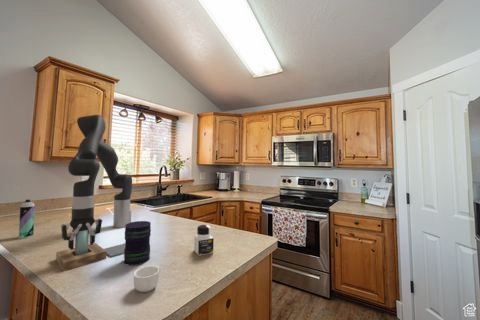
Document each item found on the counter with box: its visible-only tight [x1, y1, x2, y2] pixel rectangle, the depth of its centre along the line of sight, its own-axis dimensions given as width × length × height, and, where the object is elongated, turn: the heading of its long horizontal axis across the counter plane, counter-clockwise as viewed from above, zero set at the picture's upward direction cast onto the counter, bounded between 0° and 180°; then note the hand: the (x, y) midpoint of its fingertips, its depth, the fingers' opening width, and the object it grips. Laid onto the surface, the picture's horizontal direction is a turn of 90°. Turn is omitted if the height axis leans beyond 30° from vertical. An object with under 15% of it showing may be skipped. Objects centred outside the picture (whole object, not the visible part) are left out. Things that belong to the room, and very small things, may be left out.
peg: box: [74, 229, 90, 256], centre depth 88 cm, size 4×4×12 cm
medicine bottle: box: [193, 224, 214, 257], centre depth 97 cm, size 7×7×12 cm
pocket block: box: [55, 242, 107, 272], centre depth 88 cm, size 14×14×3 cm
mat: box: [103, 242, 125, 258], centre depth 97 cm, size 11×11×1 cm
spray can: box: [18, 199, 36, 240], centre depth 113 cm, size 6×6×20 cm
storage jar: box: [123, 220, 152, 266], centre depth 88 cm, size 10×10×15 cm
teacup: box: [133, 265, 161, 293], centre depth 69 cm, size 10×8×5 cm
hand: (81, 246), depth 88 cm, fingers open, 6 cm apart
